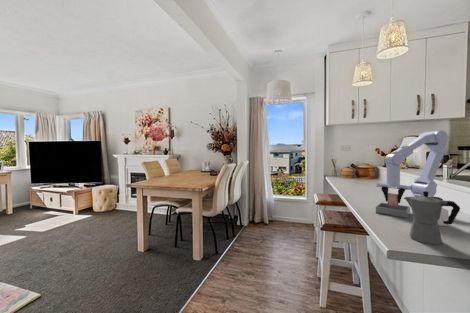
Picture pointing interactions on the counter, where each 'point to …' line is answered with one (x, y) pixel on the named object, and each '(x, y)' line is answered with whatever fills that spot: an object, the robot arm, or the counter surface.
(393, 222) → the counter surface
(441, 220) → the pale grey tall block
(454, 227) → the counter surface
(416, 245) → the counter surface
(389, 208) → the bin
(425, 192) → the coffeepot
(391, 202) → the peach rounded cylinder
